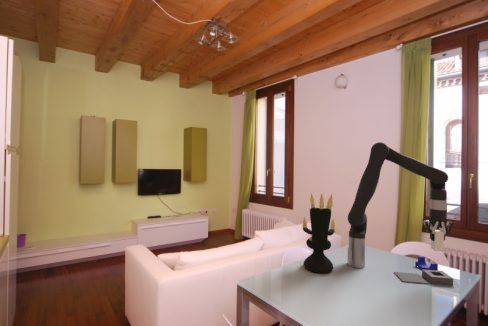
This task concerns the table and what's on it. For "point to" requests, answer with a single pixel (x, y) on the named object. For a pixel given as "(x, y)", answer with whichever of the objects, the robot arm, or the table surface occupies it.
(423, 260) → the cable clip
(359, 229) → the robot arm
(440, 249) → the plug
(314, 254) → the candelabra
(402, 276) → the mat
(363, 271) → the table surface
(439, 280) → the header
